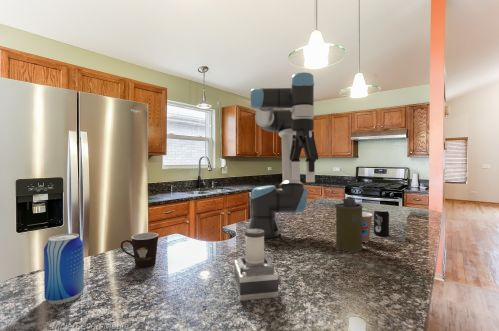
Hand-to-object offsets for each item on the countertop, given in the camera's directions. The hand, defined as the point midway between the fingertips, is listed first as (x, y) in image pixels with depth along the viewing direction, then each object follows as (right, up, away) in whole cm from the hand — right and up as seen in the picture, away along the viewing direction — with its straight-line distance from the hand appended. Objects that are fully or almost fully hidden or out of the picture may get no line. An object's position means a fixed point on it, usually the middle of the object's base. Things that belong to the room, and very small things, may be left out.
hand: (302, 180), depth 93 cm
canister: (+23, -29, +17) cm, 40 cm away
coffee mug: (-56, -29, 0) cm, 63 cm away
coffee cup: (+31, -28, +26) cm, 50 cm away
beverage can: (+45, -28, +35) cm, 63 cm away
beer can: (-67, -30, -23) cm, 77 cm away
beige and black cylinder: (-17, -23, -18) cm, 34 cm away
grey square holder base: (-17, -29, -18) cm, 38 cm away
